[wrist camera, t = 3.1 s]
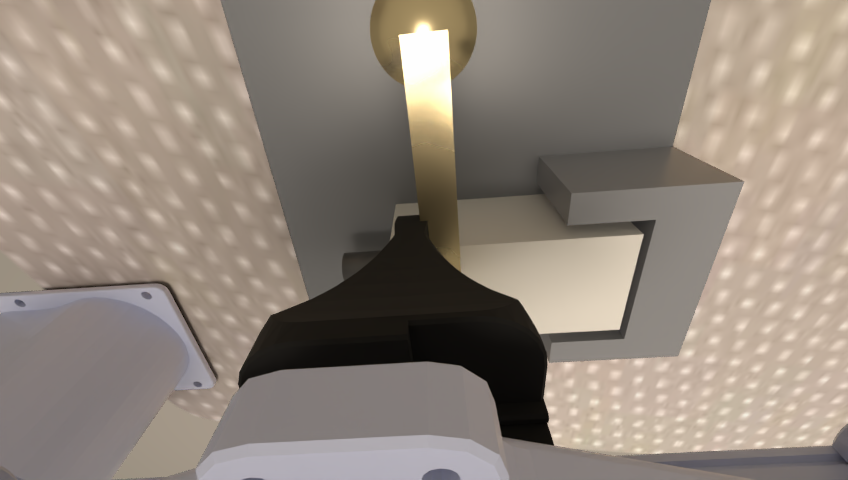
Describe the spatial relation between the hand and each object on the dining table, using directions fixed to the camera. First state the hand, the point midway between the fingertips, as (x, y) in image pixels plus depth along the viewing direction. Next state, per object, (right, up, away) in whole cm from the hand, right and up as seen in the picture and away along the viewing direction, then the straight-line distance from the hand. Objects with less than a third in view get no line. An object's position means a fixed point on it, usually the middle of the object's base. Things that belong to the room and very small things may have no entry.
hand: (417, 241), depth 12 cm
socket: (+2, +2, +5) cm, 6 cm away
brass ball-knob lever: (+1, +1, 0) cm, 1 cm away
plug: (+2, 0, +6) cm, 6 cm away
